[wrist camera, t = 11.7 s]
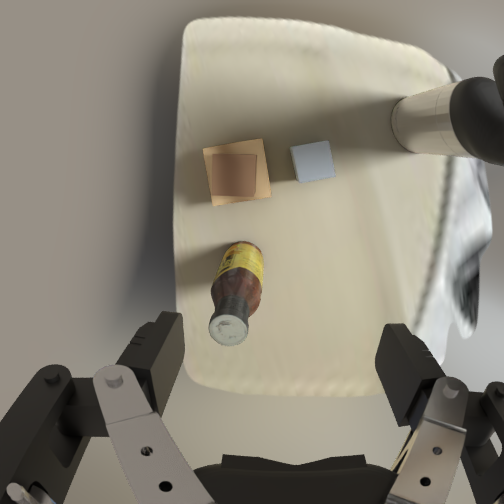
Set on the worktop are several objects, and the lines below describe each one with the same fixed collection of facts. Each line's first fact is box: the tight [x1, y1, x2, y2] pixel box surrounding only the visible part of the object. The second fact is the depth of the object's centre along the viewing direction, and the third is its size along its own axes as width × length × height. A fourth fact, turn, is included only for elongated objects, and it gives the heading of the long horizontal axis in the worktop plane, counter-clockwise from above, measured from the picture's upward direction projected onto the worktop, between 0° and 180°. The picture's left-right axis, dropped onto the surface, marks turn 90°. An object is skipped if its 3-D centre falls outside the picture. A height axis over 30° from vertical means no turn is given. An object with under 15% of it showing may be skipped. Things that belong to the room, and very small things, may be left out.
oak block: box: [203, 138, 271, 206], centre depth 43 cm, size 8×8×5 cm
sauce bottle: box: [209, 241, 264, 346], centre depth 40 cm, size 7×6×20 cm
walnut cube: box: [212, 153, 257, 197], centre depth 38 cm, size 5×5×5 cm
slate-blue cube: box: [289, 140, 336, 183], centre depth 41 cm, size 5×5×5 cm
